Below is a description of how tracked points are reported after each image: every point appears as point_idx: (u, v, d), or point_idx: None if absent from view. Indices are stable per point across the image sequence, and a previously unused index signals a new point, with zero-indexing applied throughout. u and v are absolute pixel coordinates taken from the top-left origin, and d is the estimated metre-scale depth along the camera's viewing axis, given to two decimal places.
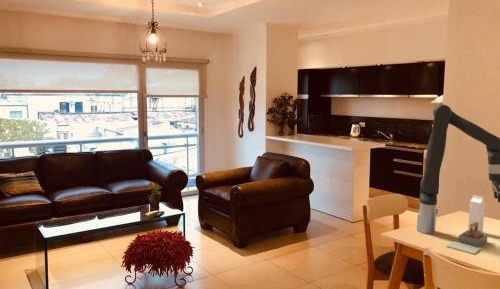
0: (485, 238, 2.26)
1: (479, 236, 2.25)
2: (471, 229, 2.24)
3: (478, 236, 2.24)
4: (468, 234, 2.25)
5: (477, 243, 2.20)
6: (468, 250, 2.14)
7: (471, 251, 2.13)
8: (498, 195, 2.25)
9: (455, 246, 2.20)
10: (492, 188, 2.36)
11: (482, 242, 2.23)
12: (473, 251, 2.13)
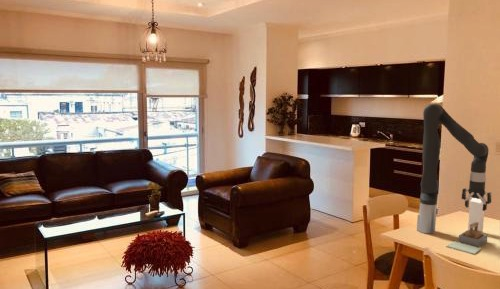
0: (485, 238, 2.26)
1: (479, 236, 2.25)
2: (471, 229, 2.24)
3: (478, 236, 2.24)
4: (468, 234, 2.25)
5: (477, 243, 2.20)
6: (468, 250, 2.14)
7: (471, 251, 2.13)
8: (485, 203, 2.20)
9: (455, 246, 2.20)
10: (462, 197, 2.28)
11: (482, 242, 2.23)
12: (473, 251, 2.13)
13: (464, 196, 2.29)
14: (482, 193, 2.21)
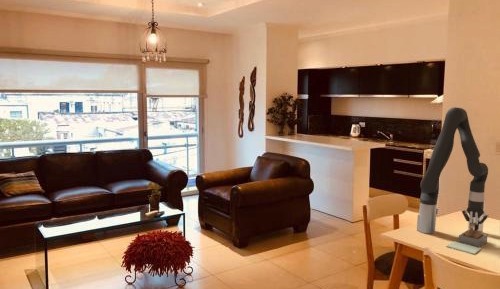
0: (485, 238, 2.26)
1: (479, 236, 2.25)
2: (471, 229, 2.24)
3: (478, 236, 2.24)
4: (468, 234, 2.25)
5: (477, 243, 2.20)
6: (468, 250, 2.14)
7: (471, 251, 2.13)
8: (477, 224, 2.24)
9: (455, 246, 2.20)
10: (467, 219, 2.28)
11: (482, 242, 2.23)
12: (473, 251, 2.13)
13: (469, 218, 2.29)
14: (480, 215, 2.22)
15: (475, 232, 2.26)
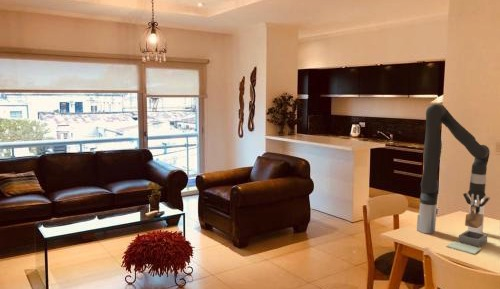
0: (485, 238, 2.26)
1: (480, 219, 2.24)
2: (472, 212, 2.22)
3: (479, 219, 2.23)
4: (469, 217, 2.24)
5: (477, 243, 2.20)
6: (468, 250, 2.14)
7: (471, 251, 2.13)
8: (478, 206, 2.23)
9: (455, 246, 2.20)
10: (468, 202, 2.26)
11: (482, 242, 2.23)
12: (473, 251, 2.13)
13: (470, 201, 2.27)
14: (482, 197, 2.21)
15: (476, 215, 2.24)
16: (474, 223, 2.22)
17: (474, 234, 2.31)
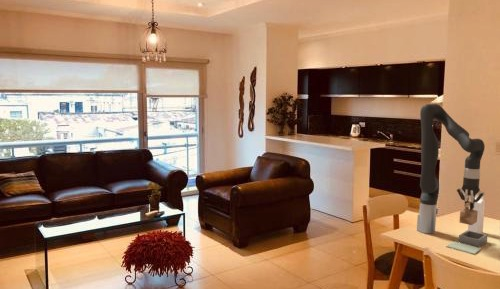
0: (485, 238, 2.26)
1: (475, 215, 2.17)
2: (466, 208, 2.15)
3: (474, 215, 2.16)
4: (463, 213, 2.17)
5: (477, 243, 2.20)
6: (468, 250, 2.14)
7: (471, 251, 2.13)
8: (473, 202, 2.15)
9: (455, 246, 2.20)
10: (462, 198, 2.19)
11: (482, 242, 2.23)
12: (473, 251, 2.13)
13: (464, 197, 2.20)
14: (476, 192, 2.14)
15: (471, 211, 2.17)
16: (468, 219, 2.15)
17: (474, 234, 2.31)
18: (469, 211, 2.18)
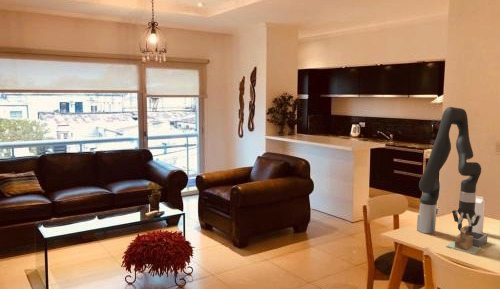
0: (485, 238, 2.26)
1: (470, 241, 2.16)
2: (462, 233, 2.15)
3: (469, 241, 2.15)
4: (458, 238, 2.16)
5: (477, 243, 2.20)
6: (468, 250, 2.14)
7: (471, 251, 2.13)
8: (471, 225, 2.14)
9: None
10: (455, 220, 2.19)
11: (482, 242, 2.23)
12: (473, 251, 2.13)
13: (457, 218, 2.21)
14: (472, 215, 2.13)
15: (466, 237, 2.17)
16: (463, 245, 2.15)
17: (474, 234, 2.31)
18: (464, 236, 2.18)
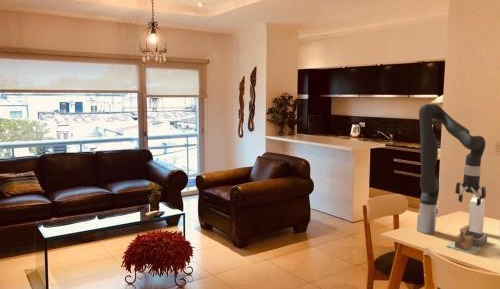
0: (485, 238, 2.26)
1: (470, 241, 2.16)
2: (462, 233, 2.15)
3: (469, 241, 2.15)
4: (458, 238, 2.16)
5: (477, 243, 2.20)
6: (468, 250, 2.14)
7: (471, 251, 2.13)
8: (479, 198, 2.13)
9: None
10: (456, 192, 2.21)
11: (482, 242, 2.23)
12: (473, 251, 2.13)
13: (458, 190, 2.22)
14: (476, 187, 2.14)
15: (466, 237, 2.17)
16: (463, 245, 2.15)
17: (474, 234, 2.31)
18: (464, 236, 2.18)
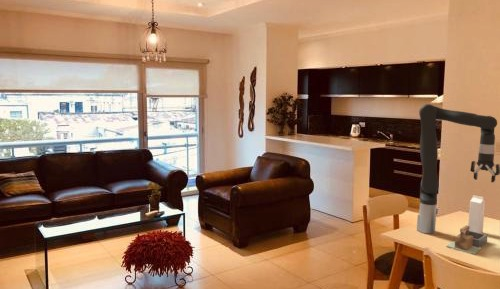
0: (485, 238, 2.26)
1: (470, 241, 2.16)
2: (462, 233, 2.15)
3: (469, 241, 2.15)
4: (458, 238, 2.16)
5: (477, 243, 2.20)
6: (468, 250, 2.14)
7: (471, 251, 2.13)
8: (494, 175, 2.25)
9: None
10: (471, 170, 2.33)
11: (482, 242, 2.23)
12: (473, 251, 2.13)
13: None
14: (491, 165, 2.25)
15: (466, 237, 2.17)
16: (463, 245, 2.15)
17: (474, 234, 2.31)
18: (464, 236, 2.18)
